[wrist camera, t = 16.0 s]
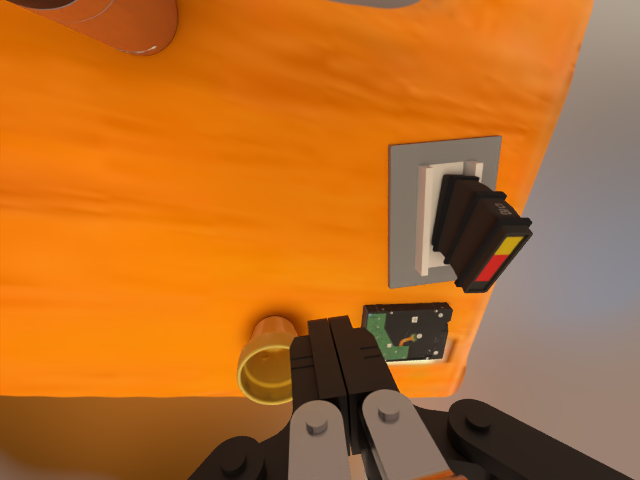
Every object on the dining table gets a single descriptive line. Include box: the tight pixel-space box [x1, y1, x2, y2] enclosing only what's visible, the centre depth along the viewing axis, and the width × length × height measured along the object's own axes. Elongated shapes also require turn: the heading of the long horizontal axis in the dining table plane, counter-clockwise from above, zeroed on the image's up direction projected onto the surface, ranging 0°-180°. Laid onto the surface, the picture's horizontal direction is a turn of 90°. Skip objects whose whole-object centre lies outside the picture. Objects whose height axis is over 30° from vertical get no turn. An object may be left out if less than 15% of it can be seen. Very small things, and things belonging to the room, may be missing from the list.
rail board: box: [388, 136, 502, 289], centre depth 48 cm, size 22×16×4 cm
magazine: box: [431, 174, 533, 293], centre depth 43 cm, size 4×13×15 cm, turn 177°
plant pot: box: [237, 316, 298, 405], centre depth 48 cm, size 10×10×10 cm
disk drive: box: [361, 302, 453, 362], centre depth 55 cm, size 10×3×15 cm
